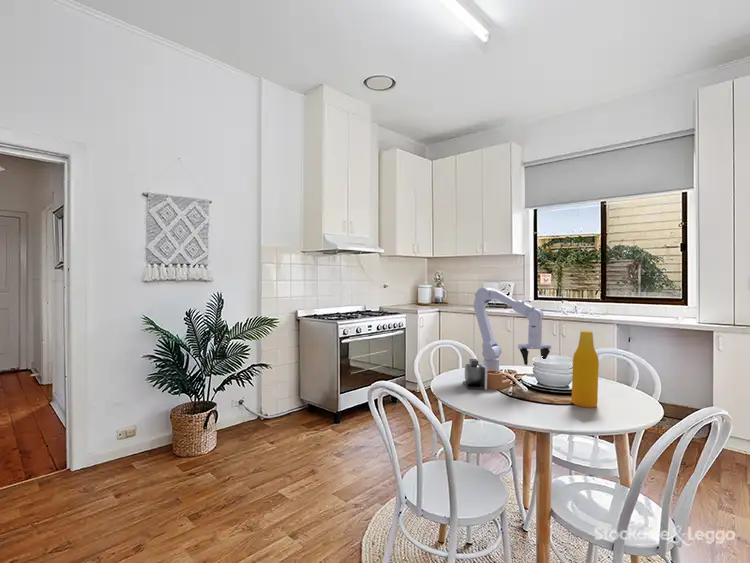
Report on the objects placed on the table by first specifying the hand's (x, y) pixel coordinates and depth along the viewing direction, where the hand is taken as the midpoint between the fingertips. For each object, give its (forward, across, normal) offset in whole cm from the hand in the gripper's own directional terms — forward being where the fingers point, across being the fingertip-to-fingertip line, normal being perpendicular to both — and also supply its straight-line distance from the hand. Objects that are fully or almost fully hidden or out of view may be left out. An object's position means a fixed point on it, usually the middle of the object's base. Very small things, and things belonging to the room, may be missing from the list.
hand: (534, 364), depth 191 cm
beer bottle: (+10, +10, -26) cm, 29 cm away
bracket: (+10, -16, 0) cm, 19 cm away
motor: (+9, -28, -3) cm, 30 cm away
